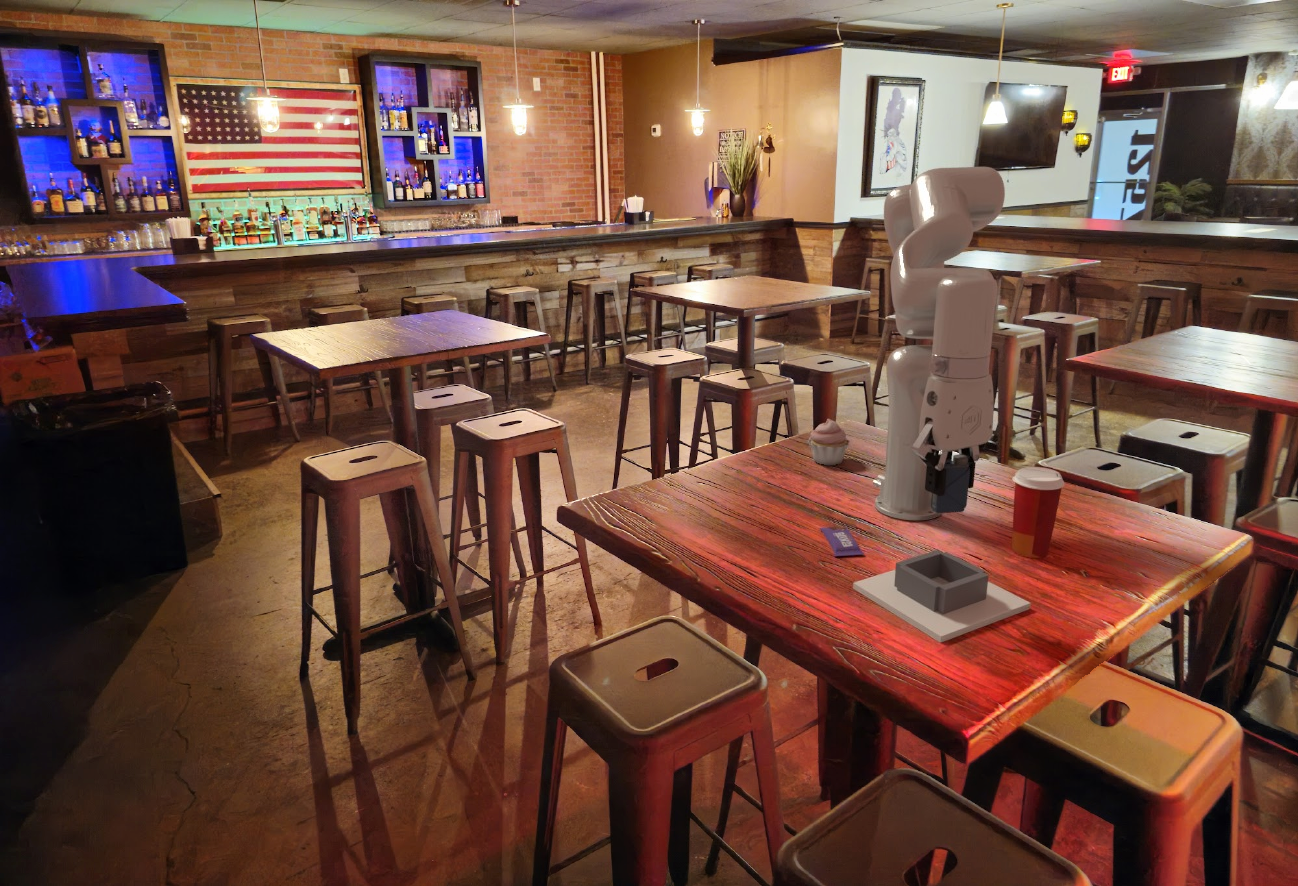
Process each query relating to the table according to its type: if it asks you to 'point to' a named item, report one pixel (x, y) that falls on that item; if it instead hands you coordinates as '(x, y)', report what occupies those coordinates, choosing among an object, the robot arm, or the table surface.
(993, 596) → the dock
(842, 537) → the snack package
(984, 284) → the robot arm
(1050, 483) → the paper cup
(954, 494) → the vaping device
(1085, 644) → the table surface
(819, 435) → the cupcake
